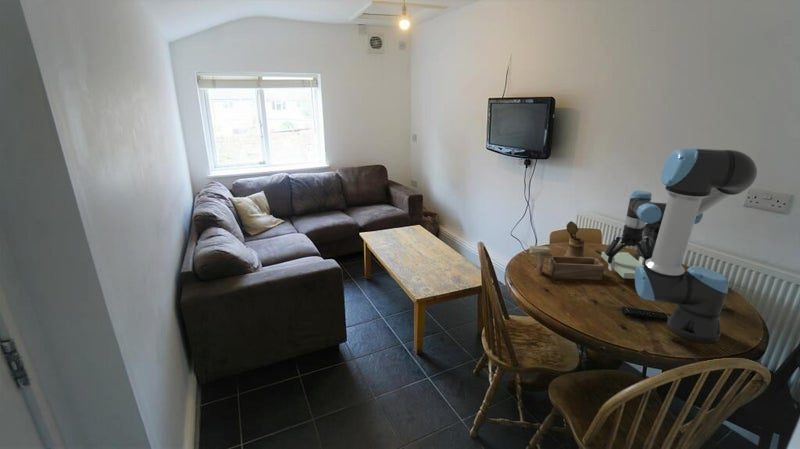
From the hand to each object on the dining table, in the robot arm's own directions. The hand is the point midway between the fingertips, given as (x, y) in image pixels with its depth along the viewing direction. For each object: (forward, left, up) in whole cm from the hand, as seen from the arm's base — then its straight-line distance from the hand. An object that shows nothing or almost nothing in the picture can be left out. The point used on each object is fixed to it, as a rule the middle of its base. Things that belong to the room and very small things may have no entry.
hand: (624, 270), depth 173 cm
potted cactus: (+23, +15, -5) cm, 28 cm away
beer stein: (+13, -19, -5) cm, 23 cm away
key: (+3, +38, +6) cm, 39 cm away
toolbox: (+3, +24, -4) cm, 24 cm away
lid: (0, 0, +2) cm, 2 cm away
